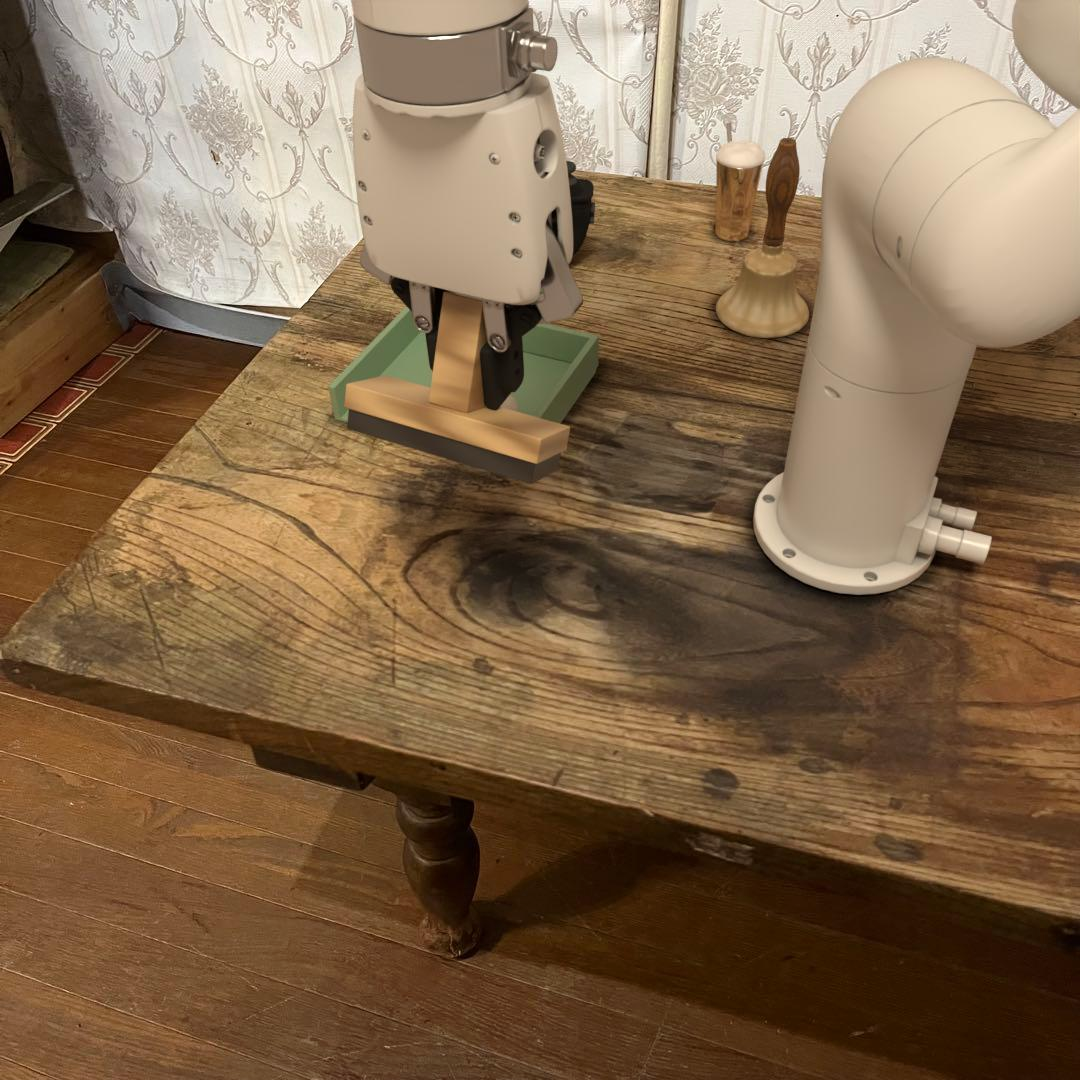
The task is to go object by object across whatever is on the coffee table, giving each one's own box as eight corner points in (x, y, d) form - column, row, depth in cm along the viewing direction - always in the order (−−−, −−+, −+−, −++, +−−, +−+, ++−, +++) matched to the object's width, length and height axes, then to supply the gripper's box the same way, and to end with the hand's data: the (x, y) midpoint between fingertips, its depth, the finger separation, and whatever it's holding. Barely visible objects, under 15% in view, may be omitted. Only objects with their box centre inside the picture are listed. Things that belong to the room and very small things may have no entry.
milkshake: (738, 215, 106) (750, 118, 99) (762, 240, 102) (776, 141, 95) (698, 223, 105) (706, 126, 98) (720, 248, 101) (731, 149, 94)
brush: (562, 471, 57) (591, 316, 54) (533, 486, 54) (561, 322, 51) (379, 417, 61) (397, 270, 58) (341, 428, 58) (357, 273, 55)
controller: (593, 276, 98) (594, 176, 91) (465, 274, 99) (456, 175, 92) (595, 253, 101) (596, 154, 94) (470, 251, 102) (462, 153, 95)
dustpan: (526, 473, 79) (524, 439, 76) (334, 419, 84) (327, 386, 82) (631, 320, 93) (632, 288, 91) (462, 283, 98) (459, 251, 96)
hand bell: (828, 317, 92) (863, 143, 81) (759, 350, 89) (785, 172, 78) (764, 278, 97) (788, 108, 86) (696, 307, 94) (712, 135, 83)
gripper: (648, 44, 45) (636, 386, 58) (340, 2, 50) (392, 323, 64) (576, 111, 40) (580, 466, 53) (245, 56, 46) (322, 392, 59)
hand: (478, 386), depth 58 cm, fingers closed on brush, 2 cm apart
